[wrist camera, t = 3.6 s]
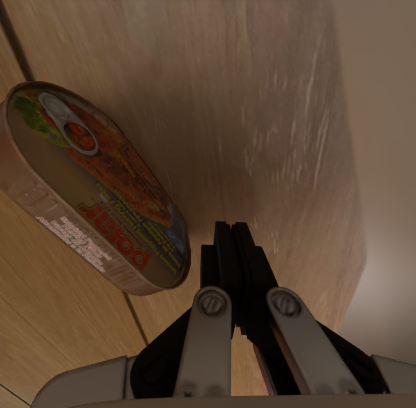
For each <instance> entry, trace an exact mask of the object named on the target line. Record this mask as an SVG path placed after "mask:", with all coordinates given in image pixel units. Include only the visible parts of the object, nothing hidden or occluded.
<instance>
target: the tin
mask: <svg viewBox="0 0 416 408" xmlns="http://www.w3.org/2000/svg"><path fill="white" fill-rule="evenodd" d="M0 188H1V189H2V191H3V192H4V193H5V194H6V195H7V196H8V197H10V198H11V199H12V200H13V201H14V202H15V203H16V204H17V205H19V206H20V207H21V208H22V209H23V210H25V211H26V212H27V213H28V214H29V215H31V216H32V217H33V218H34V219H35V220H37V221H38V222H39V223H40V224H41V225H43V226H44V227H45V228H46V229H47V230H49V231H50V232H51V233H52V234H53V235H55V236H56V237H57V238H58V239H59V240H61V241H62V242H63V243H64V244H65V245H67V246H68V247H69V248H70V249H71V250H73V251H74V252H75V253H76V254H78V255H79V256H80V257H81V258H82V259H83V260H85V261H86V262H87V263H88V264H90V265H91V266H92V267H93V268H94V269H95V270H97V271H98V272H99V273H100V274H102V275H103V276H104V277H105V278H106V279H107V280H109V281H110V282H111V283H112V284H113V285H115V286H116V287H117V288H118V289H120V290H122V291H124V292H126V293H128V294H131V295H137V296H145V295H151V294H154V293H157V292H160V291H163V290H170V289H174V288H177V287H179V286H180V285H181V284H182V283H183V282H184V281H185V279H186V278H187V276H188V273H189V270H190V265H191V248H190V242H189V237H188V233H187V230H186V226H185V224H184V222H183V219H182V217H181V215H180V213H179V212H178V210H177V208H176V207H175V205H174V204H173V202H172V201H171V200H170V198H169V197H168V196H167V194H166V193H165V191H164V190H163V189H162V187H161V186H160V185H159V183H158V182H157V181H156V179H155V178H154V176H153V175H152V174H151V172H150V171H149V170H148V168H147V167H146V165H145V164H144V163H143V161H142V160H141V158H140V157H139V156H138V154H137V153H136V152H135V150H134V149H133V147H132V146H131V145H130V143H129V142H128V141H127V139H126V138H125V136H124V135H123V134H122V133H121V131H120V130H119V129H118V128H117V127H116V125H115V124H114V123H113V122H112V121H111V120H110V119H109V118H108V117H107V116H106V115H105V114H103V113H102V112H101V111H100V110H99V109H98V108H96V107H95V106H94V105H93V104H91V103H90V102H88V101H87V100H85V99H84V98H82V97H81V96H79V95H77V94H75V93H74V92H72V91H70V90H67V89H65V88H63V87H60V86H58V85H55V84H52V83H48V82H42V81H28V82H23V83H20V84H18V85H16V86H15V87H13V88H12V89H11V90H10V91H9V93H8V94H7V96H6V98H5V100H4V101H3V102H2V103H1V104H0Z"/></svg>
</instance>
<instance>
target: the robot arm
mask: <svg viewBox="0 0 416 408" xmlns="http://www.w3.org/2000/svg"><path fill="white" fill-rule="evenodd" d="M235 323H236V326H237V327H240V329H241V335H247V339H249V340H250V341H251V342H252V343H253V349H254V353H255V355H256V358H257V361H258V364H259V367H260V370H261V373H262V376H263V379H264V382H265V385H266V387H267V390H268V393H269V396H231V339H232V338H233V333H234V328H235ZM30 408H416V365H413V364H410V363H406V362H402V361H397V360H394V359H390V358H385V357H381V356H378V355H373V354H372V355H371V356H370V357H369V356H367V355H366V354H365V353H364V352H363V351H361V350H360V349H358V348H357V347H356V346H354V345H353V344H351V343H350V342H348V341H346V340H345V339H344V338H342V337H341V336H339V335H338V334H336V333H335V332H333V331H332V330H330V329H329V328H327V327H326V326H324V325H323V324H321V323H320V322H318V321H317V320H315V318H314V317H313V315H312V314H311V312H310V311H309V309H308V308H307V306H306V305H305V304H304V302H303V301H302V299H301V298H300V297H299V296H298V295H297V294H296V293H295V292H293V291H291V290H289V289H287V288H284V287H279V286H278V283H277V281H276V279H275V276H274V274H273V272H272V269H271V267H270V265H269V262H268V260H267V258H266V255H265V253H264V251H263V249H262V247H261V246H255V243H254V241H253V238H252V236H251V233H250V230H249V228H248V225H247V223H246V222H236V223H235V225H233V224H232V227H231V228H230V225H229V224H226V222H221V221H216V223H215V233H214V243H213V245H202V246H201V267H200V290H198V292H197V293H196V294H195V296H194V299H193V304H192V307H191V308H190V309H188V310H187V311H186V312H185V313H184V314H183V315H182V316H181V317H179V318H178V319H177V320H176V321H175V322H174V323H173V324H171V325H170V326H169V327H168V328H167V329H166V330H165V331H164V332H162V333H161V334H160V335H159V336H158V337H157V338H156V339H155V340H153V341H152V342H151V343H150V344H149V345H148V346H147V347H146V348H144V349H143V350H142V351H141V352H140V354H139V355H136V356H132V357H128V358H127V355H125V356H122V357H118V358H114V359H110V360H107V361H103V362H99V363H95V364H91V365H88V366H84V367H80V368H76V369H73V370H69V371H65V372H63V373H61V374H58V375H56V376H55V377H53V378H52V379H51V380H49V381H48V382H47V383H46V384H45V385H44V386H43V387H42V388H41V390H40V391H39V392H38V393H37V395H36V397H35V399H34V401H33V402H32V404H31V407H30Z"/></svg>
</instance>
